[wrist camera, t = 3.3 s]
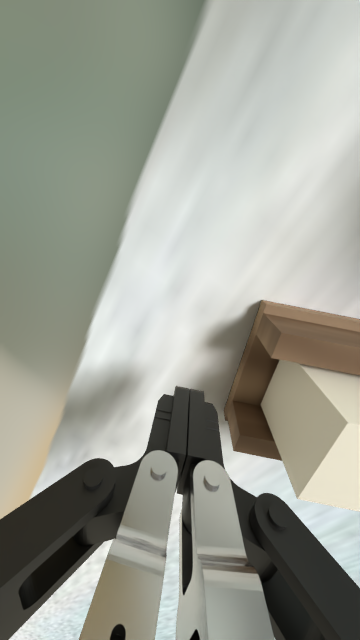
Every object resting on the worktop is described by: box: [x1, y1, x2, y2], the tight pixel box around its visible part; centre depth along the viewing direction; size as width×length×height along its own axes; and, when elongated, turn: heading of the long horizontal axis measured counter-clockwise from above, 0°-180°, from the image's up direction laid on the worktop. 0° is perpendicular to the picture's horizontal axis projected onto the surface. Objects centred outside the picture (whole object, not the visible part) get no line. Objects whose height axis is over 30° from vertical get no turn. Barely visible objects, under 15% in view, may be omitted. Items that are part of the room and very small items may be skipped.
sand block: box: [261, 360, 360, 512], centre depth 11 cm, size 5×8×6 cm, turn 80°
